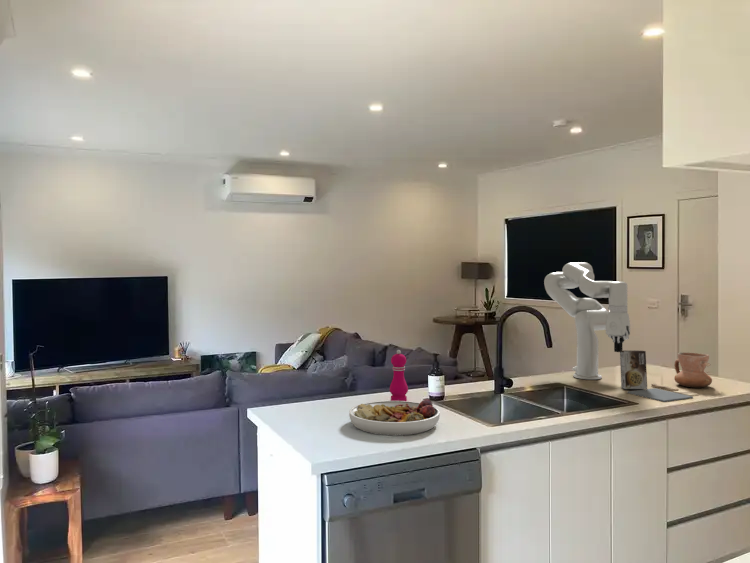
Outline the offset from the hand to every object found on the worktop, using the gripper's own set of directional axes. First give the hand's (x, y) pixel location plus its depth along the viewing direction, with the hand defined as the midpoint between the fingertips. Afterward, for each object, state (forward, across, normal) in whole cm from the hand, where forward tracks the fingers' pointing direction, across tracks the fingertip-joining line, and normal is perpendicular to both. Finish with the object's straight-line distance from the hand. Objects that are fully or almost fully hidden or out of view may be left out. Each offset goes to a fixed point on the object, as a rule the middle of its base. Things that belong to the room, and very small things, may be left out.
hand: (618, 351), depth 262 cm
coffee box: (+15, +8, 0) cm, 17 cm away
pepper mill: (+15, -15, -100) cm, 102 cm away
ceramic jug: (+15, +13, +29) cm, 35 cm away
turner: (+15, +17, +13) cm, 26 cm away
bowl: (+16, +16, -117) cm, 119 cm away
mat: (+15, +21, 0) cm, 26 cm away
